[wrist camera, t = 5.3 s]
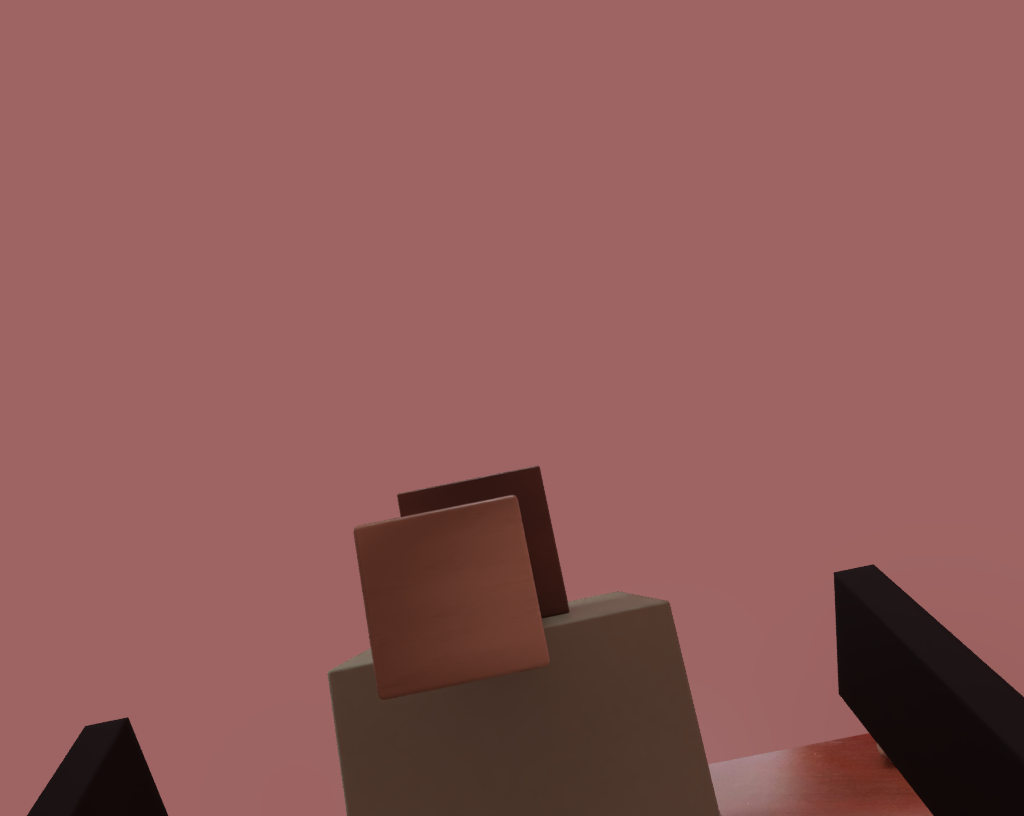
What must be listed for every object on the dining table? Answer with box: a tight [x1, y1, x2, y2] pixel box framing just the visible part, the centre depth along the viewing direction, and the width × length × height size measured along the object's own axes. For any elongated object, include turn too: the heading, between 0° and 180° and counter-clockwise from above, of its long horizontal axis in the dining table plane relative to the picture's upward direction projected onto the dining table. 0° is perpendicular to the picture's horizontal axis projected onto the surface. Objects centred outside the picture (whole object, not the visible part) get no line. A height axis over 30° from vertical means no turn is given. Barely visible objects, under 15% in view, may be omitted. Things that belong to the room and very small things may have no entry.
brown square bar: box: [354, 466, 570, 700], centre depth 20 cm, size 5×15×5 cm, turn 179°
